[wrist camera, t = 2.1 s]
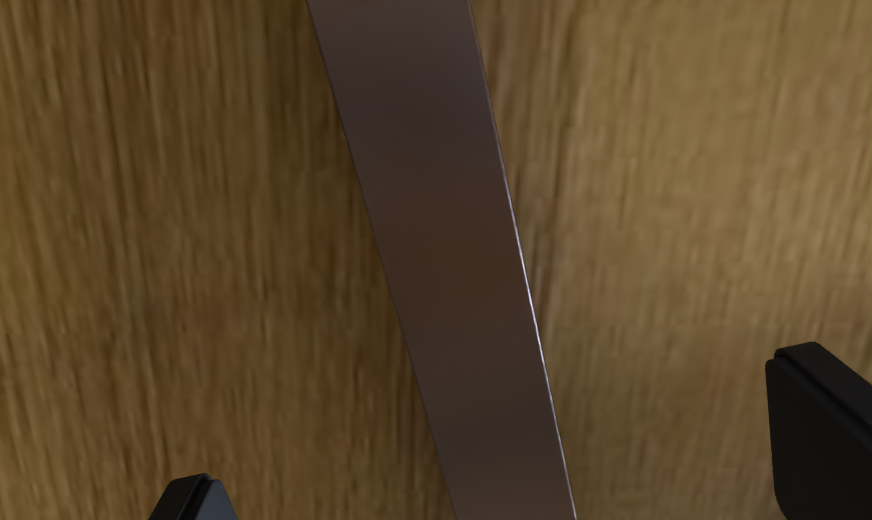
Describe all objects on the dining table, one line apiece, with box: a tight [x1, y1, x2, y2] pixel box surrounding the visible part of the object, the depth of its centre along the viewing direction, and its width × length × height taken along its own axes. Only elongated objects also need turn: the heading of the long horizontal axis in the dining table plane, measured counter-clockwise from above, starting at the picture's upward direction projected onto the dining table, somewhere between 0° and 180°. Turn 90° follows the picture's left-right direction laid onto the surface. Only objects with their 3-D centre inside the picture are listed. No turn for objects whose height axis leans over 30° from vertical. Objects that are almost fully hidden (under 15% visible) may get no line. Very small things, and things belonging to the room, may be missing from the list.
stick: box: [305, 0, 577, 520], centre depth 13 cm, size 16×2×2 cm, turn 14°
